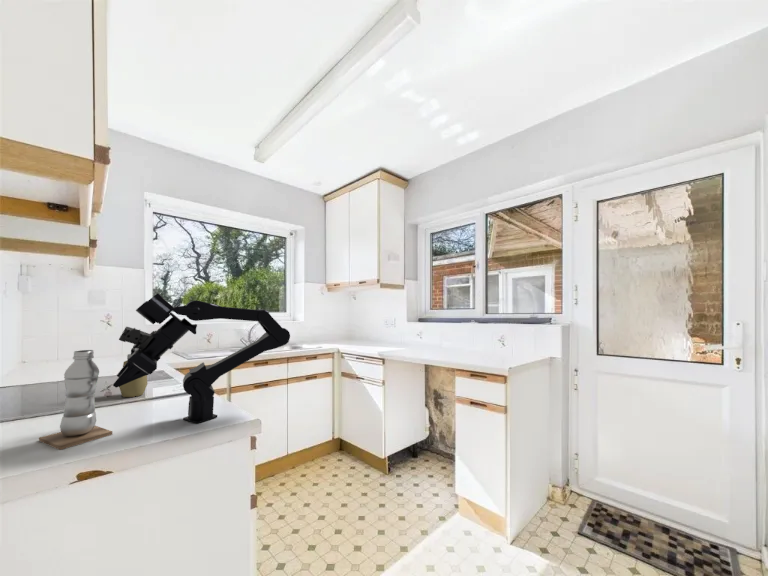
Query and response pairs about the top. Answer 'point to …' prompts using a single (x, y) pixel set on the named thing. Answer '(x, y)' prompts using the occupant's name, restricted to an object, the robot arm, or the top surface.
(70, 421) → the plastic bottle
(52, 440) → the walnut board
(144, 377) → the squeeze bottle
